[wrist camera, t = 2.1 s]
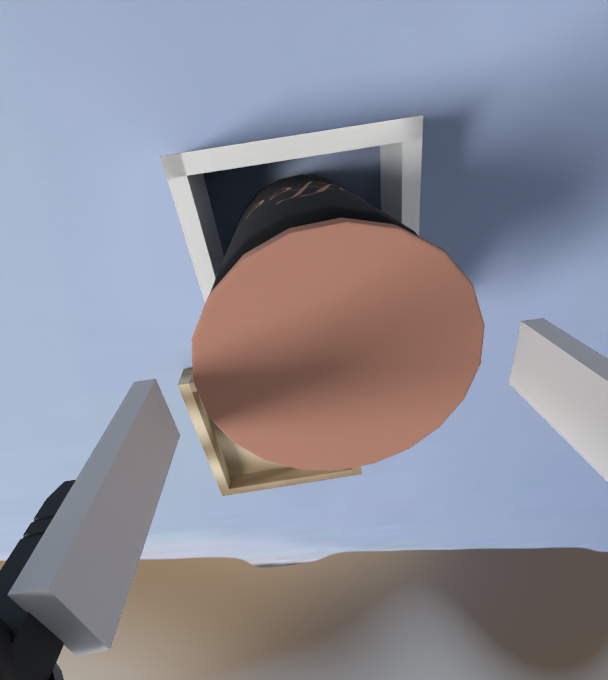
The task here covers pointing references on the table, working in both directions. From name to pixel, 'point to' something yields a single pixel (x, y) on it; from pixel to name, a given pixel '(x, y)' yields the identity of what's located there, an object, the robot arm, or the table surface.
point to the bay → (187, 168)
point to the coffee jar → (333, 331)
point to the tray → (242, 454)
